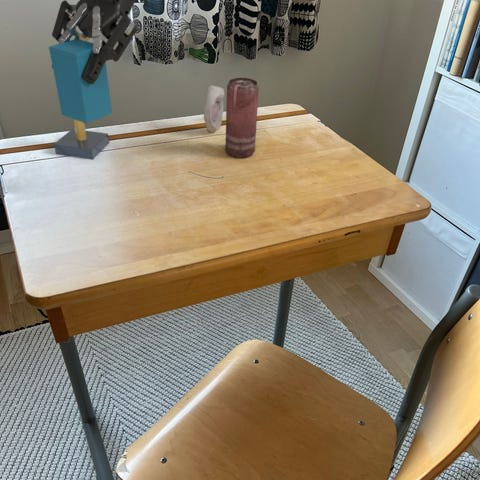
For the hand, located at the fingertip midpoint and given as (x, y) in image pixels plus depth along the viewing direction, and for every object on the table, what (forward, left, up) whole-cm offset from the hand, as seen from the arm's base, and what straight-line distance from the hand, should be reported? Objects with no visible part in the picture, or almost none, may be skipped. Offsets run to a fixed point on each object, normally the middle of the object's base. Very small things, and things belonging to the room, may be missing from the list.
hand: (72, 75), depth 77 cm
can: (+21, +25, -20) cm, 39 cm away
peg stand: (-10, +17, -20) cm, 28 cm away
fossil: (+13, +33, -20) cm, 41 cm away
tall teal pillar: (+1, +2, -6) cm, 7 cm away
